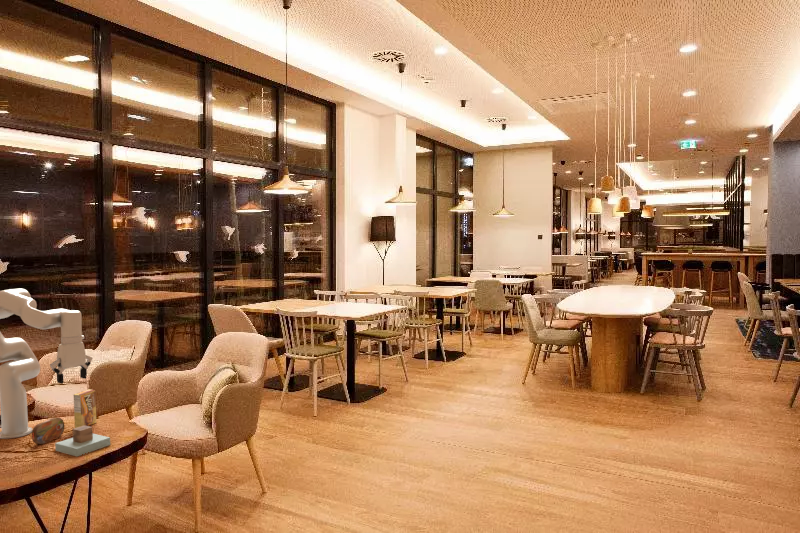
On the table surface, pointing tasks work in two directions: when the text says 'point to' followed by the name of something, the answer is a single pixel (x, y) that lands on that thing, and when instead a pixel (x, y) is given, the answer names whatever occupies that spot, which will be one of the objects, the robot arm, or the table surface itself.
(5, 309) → the robot arm
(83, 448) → the plinth
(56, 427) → the tin
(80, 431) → the walnut block
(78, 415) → the candy box
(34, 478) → the table surface
